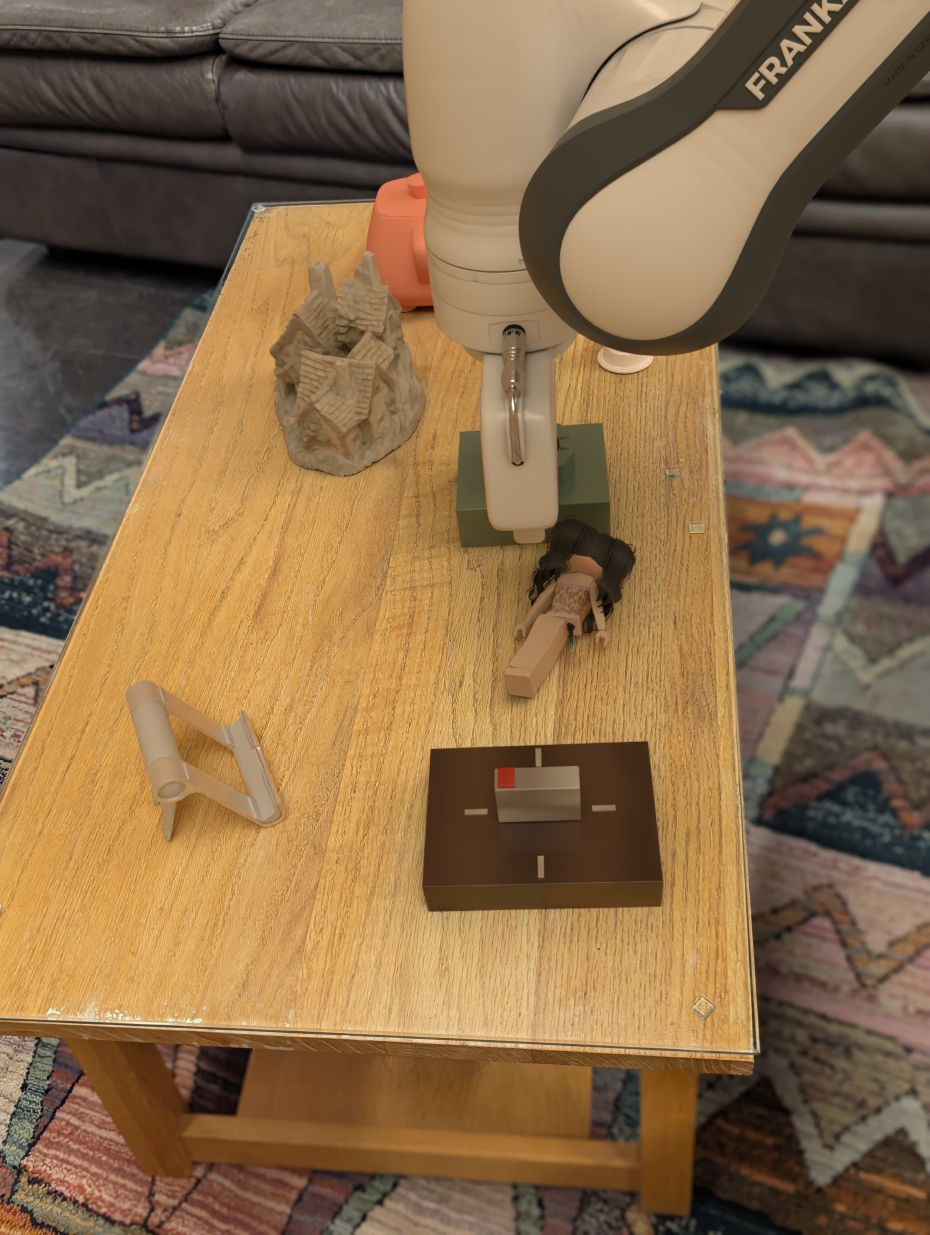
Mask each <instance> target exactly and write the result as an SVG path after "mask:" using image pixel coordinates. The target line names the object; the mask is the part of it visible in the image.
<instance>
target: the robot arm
mask: <svg viewBox="0 0 930 1235" xmlns="http://www.w3.org/2000/svg"><path fill="white" fill-rule="evenodd" d="M401 17H402V19H401V48H402V49H401V50H402V52H401V53H402V71H403V72H402V73H403V85H404V93H405V94H404V95H405V96H404V97H405V106H406V118H407V124H408V132H409V140H410V148H411V154H412V157H413V160H414V161H413V162H414V164H415V166H416V168H417V170H418V173H420V175H421V177H422V180H423V182H424V186H425V191H426V211H425V216H424V225H423V234H424V240H425V248H426V256H427V263H428V270H429V278H430V283H431V291H432V298H433V305H432V306H433V312H434V319H435V322H436V324H437V327H438V328H439V330H440V331H441V333H443V335H444V336H446V337H447V338H448V339H449V340H450V341H452V342H454V343H456V344H457V345H460V346H462V348H463V349H464V351H465V352H466V353H467V354H468V355H469V356H470V357H472V358H473V359H475V360H477V361H479V362H480V363H482V364H481V379H480V397H479V398H480V399H479V430H480V437H481V449H482V461H483V473H484V483H485V493H486V503H487V512H488V517H489V521H490V523H491V525H492V526H493V527H494V528H495V529H496V530H500V531H513V533H514V540H515V541H516V542H518V543H520V544H519V545H528V543H531V544H541V543H540V542H542V541H543V540H544V538H545V529H547V528H551V527H553V526H554V525H555V523H556V521H557V517H558V467H557V423H558V422H557V421H558V417H557V416H558V414H557V369H556V368H557V367H556V366H557V364H556V363H557V361H556V358H557V357H558V356H560V355H562V354H563V353H565V352H566V351H567V350H569V349H570V347H571V346H572V345H573V343H574V342H575V340H576V338H577V335H580V336H582V337H584V338H586V339H587V340H589V341H592V342H594V343H596V344H598V345H600V346H603V347H604V346H605V347H608V348H611V349H614V350H617V351H621V352H625V353H630V354H636V355H647V356H654V357H669V356H679V355H684V354H690V353H694V352H698V351H700V350H703V349H706V348H709V347H711V346H713V345H715V344H717V343H719V342H722V341H723V340H725V339H726V338H728V337H730V336H731V335H732V334H734V333H735V332H736V331H738V330H739V329H740V328H741V327H742V326H744V325H745V323H747V322H748V320H749V319H750V318H751V317H752V315H753V314H754V313H755V312H756V310H757V309H758V308H759V306H760V305H761V303H762V301H763V300H764V298H765V297H766V294H767V293H768V291H769V289H770V287H771V284H772V282H773V281H774V278H775V276H776V273H777V271H778V268H779V265H780V263H781V260H782V257H783V256H784V252H785V250H786V248H787V246H788V243H789V241H790V239H791V236H792V235H793V232H794V230H795V228H796V226H797V224H798V222H799V220H800V218H801V217H802V215H803V213H804V212H805V210H806V208H807V207H808V205H809V203H810V202H811V201H812V199H813V198H814V196H815V195H816V194H817V193H818V191H819V190H820V189H821V187H822V186H823V185H824V184H825V183H826V181H827V180H828V179H829V178H830V177H831V175H833V173H834V172H835V171H836V170H837V169H838V168H839V166H841V164H843V162H844V161H845V160H846V159H847V158H848V157H849V156H850V155H851V154H852V153H853V152H854V151H855V150H856V149H857V147H858V146H859V145H861V143H863V141H864V140H866V138H867V137H868V136H869V135H870V134H872V132H873V131H874V130H875V129H876V128H877V127H878V126H879V125H880V123H881V122H883V121H884V119H885V118H887V116H888V115H890V113H891V112H892V111H893V110H894V109H895V108H896V107H897V106H898V105H899V104H900V103H901V102H902V101H903V100H904V99H905V98H906V97H907V96H908V95H909V93H911V91H912V90H913V89H914V88H915V87H917V85H918V84H919V83H920V82H921V81H922V80H923V79H924V78H925V77H926V76H927V75H928V74H929V73H930V0H403V2H402V16H401Z"/></svg>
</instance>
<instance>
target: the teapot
mask: <svg viewBox="0 0 930 1235" xmlns="http://www.w3.org/2000/svg"><path fill="white" fill-rule="evenodd" d="M425 211H426V191H425V186H424V182H423V180H422V177H421V175H420V173H419V172H416V173H413V174H411V175H409V176H408V177H407V176H406V177H402V178H397V179H392V180H390V181H387V182H385V183H383V184H382V185H381V186H380V187H379V189H378V191H377V194H376V196H375V200H374V204H373V207H372V211H371V215H370V220H369V224H368V227H367V228H368V229H367V235H366V246H365V248H366V249H365V252H366V251H370V252H372V253H374V254H375V263H376V268H377V270H378V272H379V275H380V277H381V283H382V285H389V290H390V293H391V294H392V296H393V298H395V299H396V300H397V301H399V302H400V306H401V307H402V310H401V313H402V312H405V313H406V312H411V311H413V310H415V309H416V308H417V307H428V306H429V307H430V306H434V305H433V298H432V291H431V283H430V278H429V270H428V263H427V256H426V248H425V240H424V234H423V225H424V216H425Z"/></svg>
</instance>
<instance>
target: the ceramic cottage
mask: <svg viewBox="0 0 930 1235" xmlns="http://www.w3.org/2000/svg"><path fill="white" fill-rule="evenodd" d="M307 274H308V275H307V276H308V284H309V290H310V292H309V294H308V295H307V296H306V298H305V299H304V301H303V303H302V304H300V305H299V306H298V307H297V308H296V309H295V310H294V311H293V313H292V316H291V318H290V319H289V321H288V324H287V325H286V326H285V329H284V331H283V332H282V334H280V335H279V337H278V339H277V340H276V341H275V342H274V343H273V344H272V345H271V346H270V348H269V354H270V356H271V357H272V358H273V359H274V365H275V368H273V374H274V377H275V378H277V385H276V387H275V389H274V390H275V392H274V393H275V394H274V399H273V400H274V408H275V411H276V412H275V413H276V415H277V418H278V421H279V424H280V427H281V428H280V430H281V431H282V434H283V438H284V442H285V448H286V450H287V456H288V457H289V458H290V459H291V461H292V462H293V463H294V464H295V465H297V466H299V467H303V468H304V469H308V470H313V471H316V469H317V470H319V471H322V472H324V473H325V474H328V473H329V474H331V475H333V476H336V477H337V476H339V477H342V478H344V477H345V476H352V475H357V474H358V473H359V472H363V471H365V470H366V469H367V468H366V467H370V466H372V465H373V464H372V463H376V462H377V461H381V459H383V458H384V457H385V456H386V455H388V454H389V453H391V452H392V451H393V450H396V449H397V448H398V447H402V446H403V445H404V443H405V442H406V441H408V439H410V437H411V436H412V435H413V433H415V430H416V428H417V427H418V422H419V420H421V419H422V416H423V413H424V410H425V407H424V406H425V404H426V394H425V392H424V391H423V389H422V383H421V381H420V380H419V378H418V376H417V374H416V372H415V369H414V362H413V357H412V352H411V346H410V345H409V344H408V343H407V342H406V341H405V338H404V337H405V334H404V331H403V327H402V320H401V314H402V311H401V310H402V307H401V306H400V302H399V301H397V300H396V299H395V298H393V296H392V294H391V293H390V290H389V285H382V283H381V277H380V275H379V272H378V270H377V268H376V263H375V254H374V253H372V252H370V251H366V250H365V252H364V253H363V254H362V258H361V261H360V262H359V263H357V264H356V266H355V269H354V274H353V276H352V277H349V276H345V275H342V276H340V283H339V285H338V286H339V287H338V292H337V290H336V286H335V284H334V280H333V276H332V272H331V270H330V267H329V264H328V263H327V262H326V261H325V260H322V259H314V260H313V261H311V262H310V263H309V266H308V268H307Z"/></svg>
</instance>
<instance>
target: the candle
mask: <svg viewBox="0 0 930 1235" xmlns="http://www.w3.org/2000/svg"><path fill="white" fill-rule="evenodd" d="M654 358H655V356H647V355H636V354H630V353H625V352H621V351H617V350H614V349H611V348H608V347H605V346H603V347H601V348H600V350H599V351H598V353H597V354H596V360H597V363H598V364H599V366H601V367H602V368H603V369H604V370H607V371H608V372H611V373H615V374H635V373H637V372H641V371H643V370H645V369H647V368H648V367H650V365H651V364H652V363H653V361H654Z"/></svg>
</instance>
